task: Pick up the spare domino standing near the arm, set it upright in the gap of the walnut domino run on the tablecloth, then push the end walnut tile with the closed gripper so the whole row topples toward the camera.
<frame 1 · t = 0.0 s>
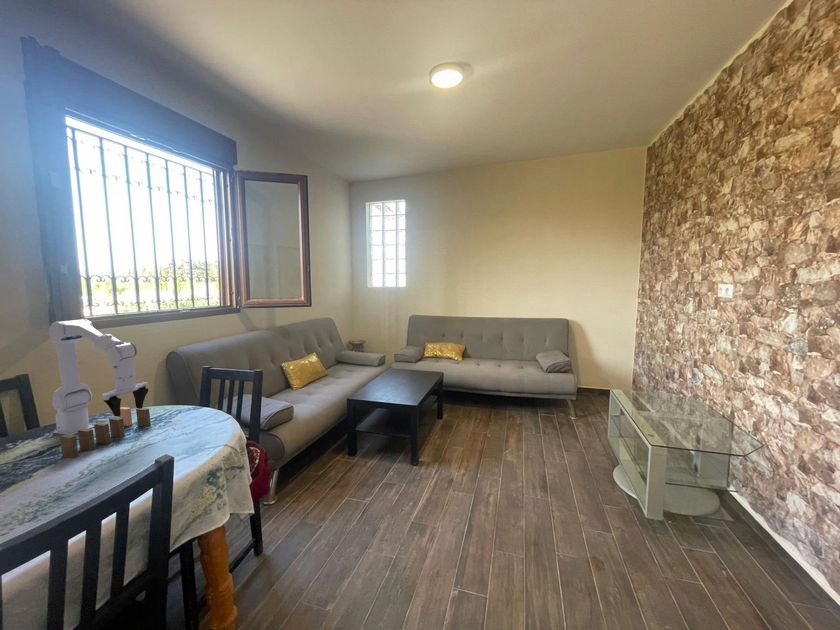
hand: (128, 412, 124), 10 cm above the table, fingers open, 7 cm apart
spare: (125, 424, 136), on the table
domino 5: (87, 448, 117), on the table
domino 1: (144, 425, 136), on the table
domino 4: (103, 442, 122), on the table
domino 6: (70, 456, 112), on the table
domino 3: (117, 436, 126), on the table
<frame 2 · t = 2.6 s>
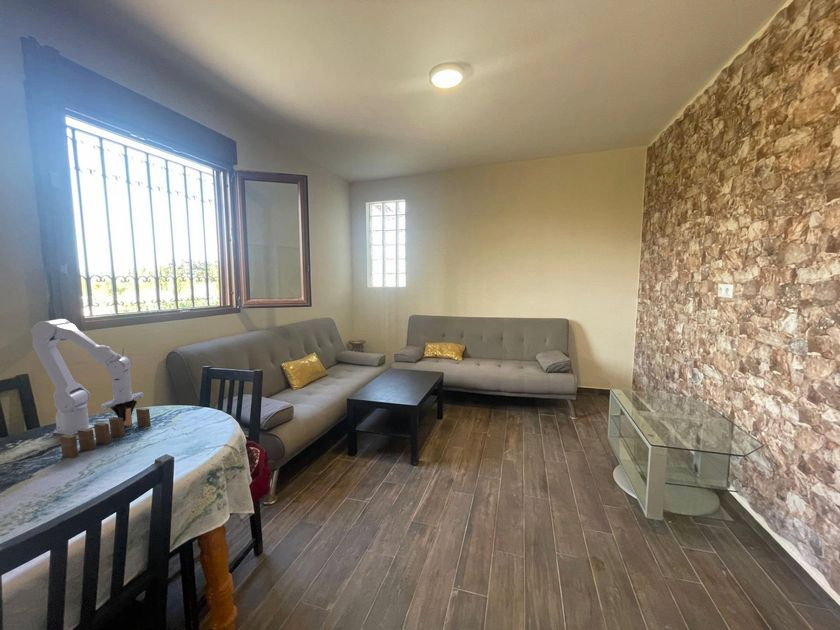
hand: (125, 420, 136), 2 cm above the table, fingers closed on spare, 2 cm apart
spare: (125, 424, 136), on the table, touching gripper
everything else where it was.
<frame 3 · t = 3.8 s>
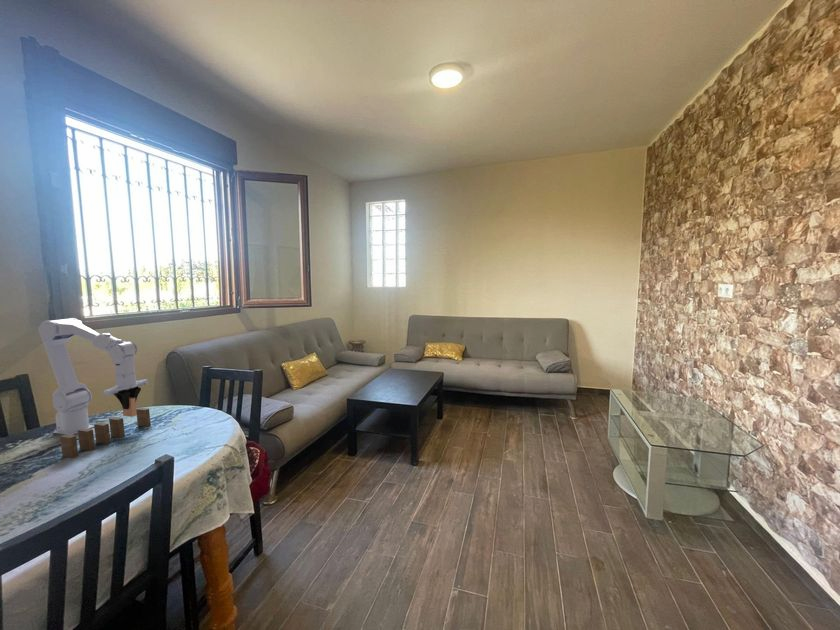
hand: (129, 407, 130), 9 cm above the table, fingers closed on spare
spare: (130, 415, 130), point 6 cm above the table, touching gripper
everything else where it was.
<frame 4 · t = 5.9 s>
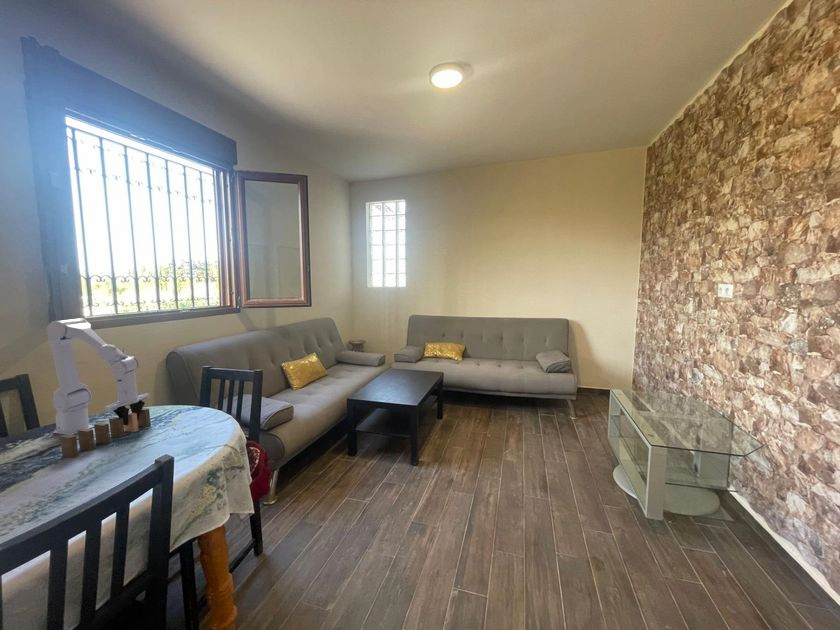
hand: (130, 422, 131), 3 cm above the table, fingers open, 3 cm apart
spare: (131, 430, 131), on the table
everything else where it was.
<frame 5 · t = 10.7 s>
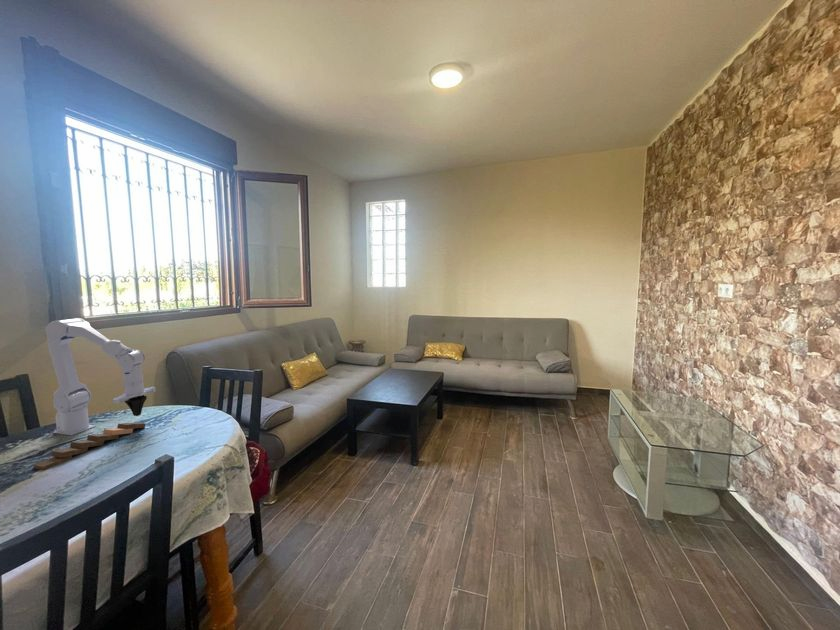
hand: (137, 415, 133), 5 cm above the table, fingers closed
spare: (128, 430, 130), point 1 cm above the table, tilted 71°, touching domino 1, domino 3
domino 5: (82, 448, 116), point 1 cm above the table, tilted 76°, touching domino 4, domino 6
domino 1: (140, 424, 134), point 1 cm above the table, tilted 71°, touching spare
domino 4: (98, 442, 120), point 1 cm above the table, tilted 71°, touching domino 3, domino 5
domino 6: (66, 456, 111), on the table, tilted 90°, touching domino 5
domino 3: (113, 435, 125), point 1 cm above the table, tilted 71°, touching domino 4, spare
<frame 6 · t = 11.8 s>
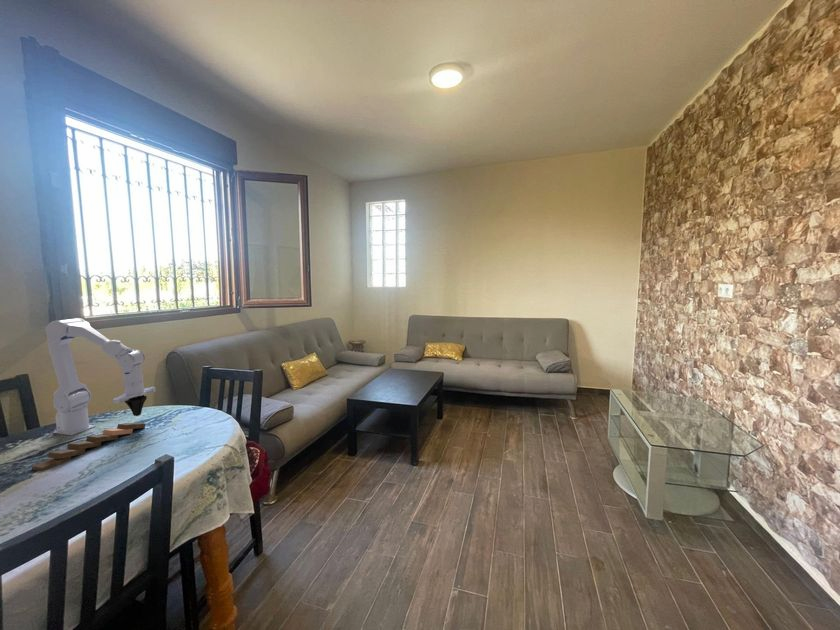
hand: (137, 415, 133), 5 cm above the table, fingers closed
spare: (127, 430, 129), point 1 cm above the table, tilted 71°, touching domino 3
domino 5: (79, 450, 114), point 1 cm above the table, tilted 74°, touching domino 4, domino 6
domino 1: (140, 425, 134), point 1 cm above the table, tilted 71°
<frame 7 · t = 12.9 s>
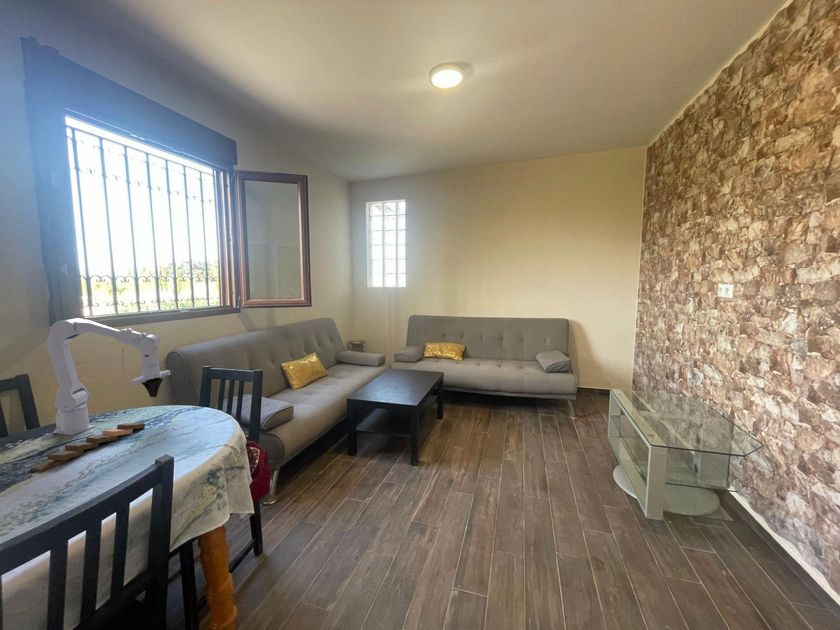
hand: (153, 396, 139), 10 cm above the table, fingers closed
spare: (127, 430, 129), point 1 cm above the table, tilted 72°, touching domino 1, domino 3
domino 5: (76, 452, 113), point 1 cm above the table, tilted 74°, touching domino 4, domino 6
domino 1: (140, 425, 134), point 1 cm above the table, tilted 72°, touching spare
domino 4: (92, 444, 119), point 1 cm above the table, tilted 72°, touching domino 5
domino 3: (112, 437, 124), point 1 cm above the table, tilted 73°, touching spare
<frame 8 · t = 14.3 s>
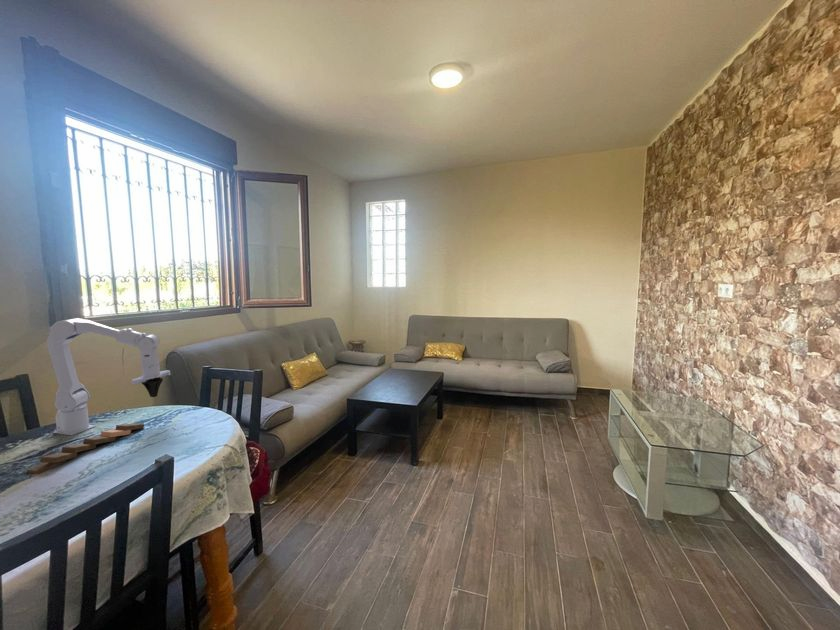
hand: (153, 396, 139), 10 cm above the table, fingers closed
domino 5: (69, 454, 111), point 1 cm above the table, tilted 74°, touching domino 4, domino 6
domino 4: (89, 445, 118), point 1 cm above the table, tilted 73°, touching domino 5
at the end: domino 6 tilted 90°; spare inside the target area (1.6 cm from its centre), point 0.7 cm above the table; spare tilted 72° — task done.
